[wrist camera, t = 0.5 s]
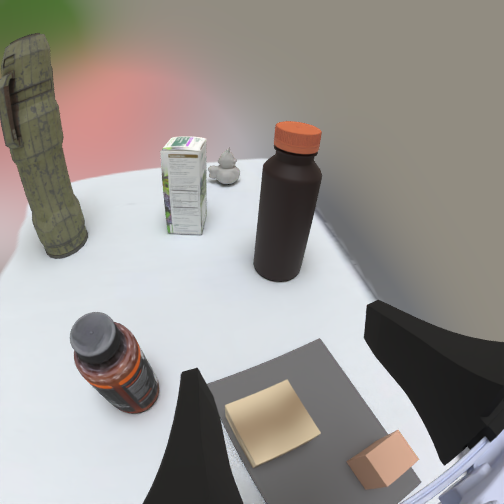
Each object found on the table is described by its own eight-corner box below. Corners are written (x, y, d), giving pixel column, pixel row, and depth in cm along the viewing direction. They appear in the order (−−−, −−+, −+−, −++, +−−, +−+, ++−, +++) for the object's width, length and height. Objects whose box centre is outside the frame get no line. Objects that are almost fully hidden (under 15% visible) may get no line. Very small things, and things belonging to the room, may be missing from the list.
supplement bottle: (162, 367, 27) (135, 303, 20) (158, 418, 23) (121, 373, 16) (112, 362, 27) (71, 298, 19) (104, 410, 22) (50, 361, 15)
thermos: (35, 266, 36) (-23, 55, 13) (57, 223, 45) (22, 45, 21) (77, 264, 37) (27, 29, 14) (96, 219, 46) (68, 28, 23)
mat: (419, 482, 17) (421, 482, 17) (306, 560, 12) (307, 561, 12) (319, 339, 31) (319, 338, 31) (205, 385, 26) (205, 384, 26)
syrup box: (175, 214, 48) (168, 136, 39) (208, 215, 49) (207, 136, 39) (167, 234, 44) (157, 149, 35) (203, 236, 44) (200, 149, 35)
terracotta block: (395, 466, 19) (419, 459, 16) (365, 489, 17) (387, 486, 14) (376, 440, 22) (398, 429, 19) (346, 461, 20) (365, 454, 17)
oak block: (309, 441, 22) (321, 433, 19) (252, 468, 20) (256, 465, 17) (280, 393, 26) (287, 379, 23) (225, 416, 24) (225, 404, 21)
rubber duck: (241, 187, 57) (243, 151, 52) (208, 189, 56) (208, 152, 51) (237, 176, 61) (239, 142, 56) (207, 177, 60) (207, 143, 54)
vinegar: (267, 243, 44) (283, 115, 31) (307, 261, 42) (337, 130, 28) (244, 269, 39) (254, 126, 26) (288, 290, 37) (319, 143, 24)
